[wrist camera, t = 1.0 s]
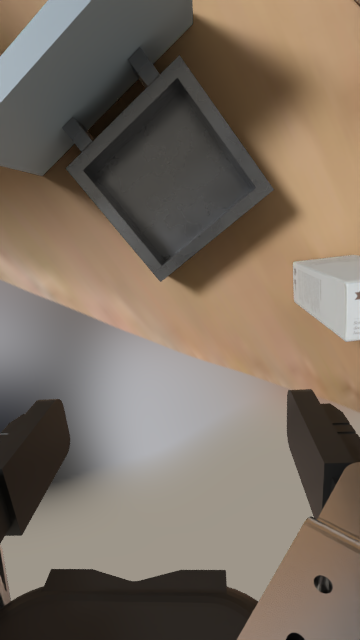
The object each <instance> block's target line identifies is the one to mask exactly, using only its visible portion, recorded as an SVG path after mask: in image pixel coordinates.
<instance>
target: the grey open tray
mask: <svg viewBox="0 0 360 640" xmlns="http://www.w3.org/2000/svg"><path fill="white" fill-rule="evenodd" d="M128 61H129V63H130V65H131V67H132V70H133V72H134V73H135V75H136V76H137V77H138V79H139V80H140V81H141V83H142V84H143V85H144V87H145V88H146V89H145V90H144V91H143V92H142V93H141V94H140V95H139V96H138V97H137V98H136V99H135V100H134V101H133V102H132V103H131V104H130V105H129V106H128V107H127V108H126V109H125V110H124V111H123V112H122V113H121V114H120V115H119V116H118V117H117V118H116V119H115V120H114V121H113V122H112V123H111V124H110V125H109V126H108V127H107V128H106V129H105V130H104V131H103V132H102V133H101V134H100V135H99V136H98V137H97V138H96V139H94V138H93V137H92V135H91V134H90V133H89V132H88V130H87V129H86V128H85V127H84V125H83V124H81V123H80V122H79V121H78V120H76V119H75V118H74V117H72V118H71V119H70V120H69V121H68V122H67V123H66V124H65V125H64V126H63V127H62V129H63V130H64V131H65V132H66V133H67V135H68V136H69V137H70V138H71V140H72V141H73V142H74V143H75V144H76V146H77V147H78V148H79V149H80V151H81V152H82V153H81V154H80V155H79V156H78V157H77V158H76V159H75V160H74V161H73V162H72V163H71V164H70V165H69V166H68V167H67V168H66V170H67V171H68V172H69V173H70V174H71V176H72V177H73V178H74V179H75V180H76V181H77V183H78V184H79V185H80V186H81V187H82V189H83V190H84V191H85V192H86V193H87V195H88V196H89V197H90V198H91V199H92V201H93V202H94V203H95V204H96V205H97V207H98V208H99V209H100V210H101V211H102V213H103V214H104V215H105V216H106V217H107V219H108V220H109V221H110V222H111V223H112V225H113V226H114V227H115V228H116V229H117V231H118V232H119V233H120V234H121V235H122V237H123V238H124V239H125V240H126V241H127V243H128V244H129V245H130V246H131V247H132V248H133V250H134V251H135V252H136V253H137V254H138V256H139V257H140V258H141V259H142V260H143V262H144V263H145V264H146V265H147V266H148V268H149V269H150V270H151V271H152V272H153V274H154V275H155V276H156V277H157V278H158V280H159V281H160V282H161V281H162V280H164V279H165V278H166V277H167V276H169V275H170V274H171V273H172V272H173V271H175V270H176V269H177V268H178V267H180V266H181V265H182V264H183V263H184V262H186V261H187V260H188V259H189V258H191V257H192V256H193V255H194V254H196V253H197V252H198V251H199V250H200V249H202V248H203V247H204V246H205V245H207V244H208V243H209V242H210V241H212V240H213V239H214V238H215V237H216V236H218V235H219V234H220V233H221V232H223V231H224V230H225V229H226V228H227V227H229V226H230V225H231V224H232V223H234V222H235V221H236V220H237V219H239V218H240V217H241V216H242V215H243V214H245V213H246V212H247V211H248V210H250V209H251V208H252V207H253V206H254V205H256V204H257V203H258V202H259V201H261V200H262V199H263V198H264V197H266V196H267V195H268V194H269V193H270V192H272V191H273V190H274V189H273V188H272V186H271V185H270V183H269V182H268V180H267V179H266V178H265V176H264V175H263V173H262V172H261V171H260V169H259V168H258V166H257V165H256V163H255V162H254V161H253V159H252V158H251V156H250V155H249V153H248V152H247V151H246V149H245V148H244V146H243V145H242V144H241V142H240V141H239V139H238V138H237V136H236V135H235V134H234V132H233V131H232V129H231V128H230V126H229V125H228V124H227V122H226V121H225V119H224V118H223V117H222V115H221V114H220V112H219V111H218V109H217V108H216V107H215V105H214V104H213V102H212V101H211V99H210V98H209V97H208V95H207V94H206V92H205V91H204V90H203V88H202V87H201V85H200V84H199V82H198V81H197V80H196V78H195V77H194V75H193V74H192V72H191V71H190V70H189V68H188V67H187V65H186V64H185V63H184V61H183V60H182V58H181V57H180V55H179V56H178V57H177V58H176V59H175V60H174V61H173V62H172V63H171V64H170V65H169V66H168V67H167V68H166V69H165V70H164V71H163V72H162V73H161V74H159V72H158V71H157V70H156V68H155V67H154V65H153V64H152V63H151V61H150V60H149V59H148V57H147V56H146V54H145V53H144V52H143V50H142V49H141V48H140V47H139V48H138V49H137V50H136V51H135V53H134V54H133V55H132V56H131V57H130V58H129V59H128Z"/></svg>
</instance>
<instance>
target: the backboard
mask: <svg viewBox="0 0 360 640" xmlns="http://www.w3.org/2000/svg"><path fill="white" fill-rule="evenodd" d="M192 24H193V8H192V0H48V1H47V2H46V3H45V5H44V6H43V7H42V8H41V9H40V11H39V12H38V13H37V14H36V15H35V16H34V18H33V19H32V20H31V21H30V22H29V23H28V25H27V26H26V27H25V28H24V29H23V31H22V32H21V33H20V34H19V35H18V36H17V38H16V39H15V40H14V41H13V42H12V43H11V45H10V46H9V47H8V48H7V49H6V51H5V52H4V53H3V54H2V55H1V56H0V166H3V167H7V168H11V169H15V170H19V171H23V172H27V173H32V174H36V175H40V176H43V175H44V174H45V173H46V172H47V171H48V170H49V169H50V168H51V167H52V166H53V165H54V164H55V163H56V162H57V161H58V160H59V159H60V158H61V157H62V156H63V155H64V154H65V153H66V152H67V151H68V150H69V149H70V148H71V147H72V146H73V145H74V144H75V143H74V142H73V141H72V140H71V138H70V137H69V136H68V135H67V133H66V132H65V131H64V130H63V129H62V127H63V126H64V125H65V124H66V123H67V122H68V121H69V120H70V119H71V118H72V117H74V118H75V119H76V120H78V121H79V122H80V123H81V124H83V125H84V127H85V128H86V129H87V130H88V129H89V128H90V127H91V126H92V125H93V124H94V123H95V122H96V121H97V120H98V119H99V118H100V117H101V116H102V115H103V114H104V113H105V112H106V111H107V110H108V109H109V108H110V107H111V106H112V105H113V104H114V103H115V102H116V101H117V100H118V99H119V98H120V97H121V96H122V95H123V94H124V93H125V92H126V91H127V90H128V89H129V88H130V87H131V86H132V85H133V84H134V83H135V82H136V81H137V80H138V77H137V76H136V75H135V73H134V72H133V70H132V67H131V65H130V63H129V61H128V59H129V58H130V57H131V56H132V55H133V54H134V53H135V51H136V50H137V49H138V48H139V47H140V48H141V49H142V50H143V52H144V53H145V54H146V56H147V57H148V59H149V60H150V61H151V63H152V64H154V63H155V62H156V61H157V60H158V59H159V58H160V57H161V56H162V55H163V54H164V53H165V52H166V51H167V50H168V49H169V48H170V47H171V46H172V45H173V44H174V43H175V41H176V40H177V39H178V38H179V37H180V36H181V35H182V34H183V33H184V32H185V31H186V30H187V29H188V28H189V27H190V26H191V25H192Z"/></svg>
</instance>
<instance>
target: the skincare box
mask: <svg viewBox="0 0 360 640" xmlns="http://www.w3.org/2000/svg"><path fill="white" fill-rule="evenodd" d="M293 284H294V301H295V303H297V304H298V305H299V306H301V307H302V308H303V309H304V310H306V311H307V312H308V313H310V314H311V315H312V316H313V317H315V318H316V319H317V320H319V321H320V322H321V323H323V324H324V325H325V326H326V327H328V328H329V329H330V330H332V331H333V332H334V333H336V334H337V335H338V336H339V337H341V338H342V339H343V340H344V341H346V342H348V341H357V340H360V256H358V255H348V256H339V257H330V258H322V259H313V260H304V261H296V262H293Z"/></svg>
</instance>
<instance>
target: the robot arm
mask: <svg viewBox="0 0 360 640" xmlns="http://www.w3.org/2000/svg"><path fill="white" fill-rule="evenodd" d="M356 1H357V2H358V3H359V4H360V0H356ZM287 437H288V443H289V448H290V451H291V453H292V456H293V459H294V462H295V465H296V468H297V470H298V473H299V476H300V479H301V482H302V485H303V487H304V490H305V493H306V496H307V499H308V501H309V504H310V507H311V510H312V513H313V516H314V518H313V517H308V518H307V519H306V521H305V522H304V524H303V525H302V527H301V529H300V531H299V532H298V534H297V536H296V538H295V539H294V541H293V543H292V545H291V546H290V548H289V550H288V551H287V553H286V555H285V557H284V558H283V560H282V562H281V564H280V565H279V567H278V569H277V571H276V572H275V574H274V576H273V578H272V579H271V581H270V583H269V585H268V586H267V588H266V590H265V591H264V593H263V595H262V597H261V599H260V600H259V602H258V601H256V600H255V599H253V598H252V597H250V596H248V595H247V594H245V593H242V592H240V591H238V590H236V589H232V588H229V587H227V586H226V571H225V570H179V571H175V572H172V573H168V574H164V575H160V576H157V577H153V578H148V579H145V580H141V581H128V580H125V579H122V578H119V577H116V576H112V575H109V574H106V573H102V572H99V571H96V570H93V569H90V570H89V569H87V570H86V569H51V571H50V573H49V576H48V578H47V581H46V583H45V585H44V587H40V588H38V589H35V590H32V591H30V592H28V593H25V594H23V595H21V596H19V597H17V598H16V599H14V600H13V601H11V598H10V592H9V586H8V581H7V574H6V568H5V562H4V556H3V551H2V547H1V544H0V640H360V437H359V436H358V435H357V434H356V433H355V430H354V429H353V427H352V426H351V425H350V424H349V421H348V420H347V418H346V417H345V415H344V414H343V412H341V411H340V410H338V409H337V408H336V407H334V406H333V405H331V404H320V403H319V401H318V399H317V397H316V396H315V394H314V392H313V391H312V390H311V389H306V390H289V391H288V395H287ZM69 446H70V434H69V430H68V425H67V421H66V416H65V411H64V407H63V403H62V401H61V400H60V399H49V400H38V401H36V402H35V404H34V405H33V406H32V407H31V408H30V409H29V410H28V412H27V413H26V414H23V415H21V416H20V417H18V418H17V419H15V420H14V421H12V422H11V423H9V424H8V426H7V427H6V428H5V429H4V430H3V431H2V432H1V435H0V543H1V541H2V540H3V538H4V536H6V535H7V536H8V535H9V536H11V535H12V536H14V535H22V534H23V532H24V531H25V529H26V527H27V525H28V523H29V522H30V520H31V518H32V516H33V514H34V513H35V511H36V509H37V507H38V506H39V504H40V502H41V500H42V498H43V496H44V495H45V493H46V491H47V489H48V487H49V486H50V484H51V482H52V481H53V479H54V477H55V475H56V473H57V472H58V470H59V468H60V466H61V464H62V462H63V461H64V459H65V457H66V455H67V453H68V451H69Z"/></svg>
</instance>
